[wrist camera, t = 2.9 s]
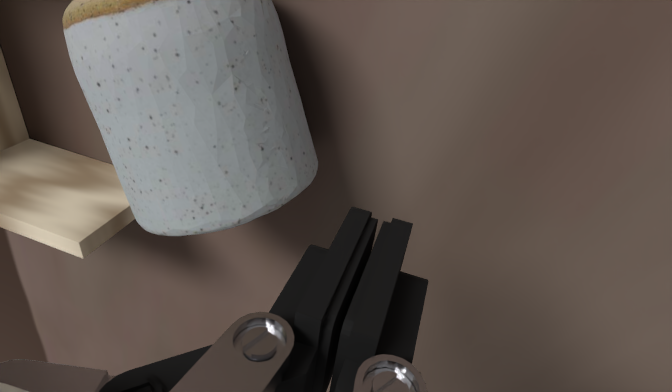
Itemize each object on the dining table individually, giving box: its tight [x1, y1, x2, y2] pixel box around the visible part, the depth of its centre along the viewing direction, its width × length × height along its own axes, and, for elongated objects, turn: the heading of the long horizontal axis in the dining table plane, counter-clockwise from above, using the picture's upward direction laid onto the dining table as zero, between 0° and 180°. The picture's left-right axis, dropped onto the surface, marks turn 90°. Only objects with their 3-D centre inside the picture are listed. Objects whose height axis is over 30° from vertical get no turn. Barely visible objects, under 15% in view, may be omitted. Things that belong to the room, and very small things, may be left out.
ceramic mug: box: [62, 0, 318, 236], centre depth 17 cm, size 11×8×8 cm
